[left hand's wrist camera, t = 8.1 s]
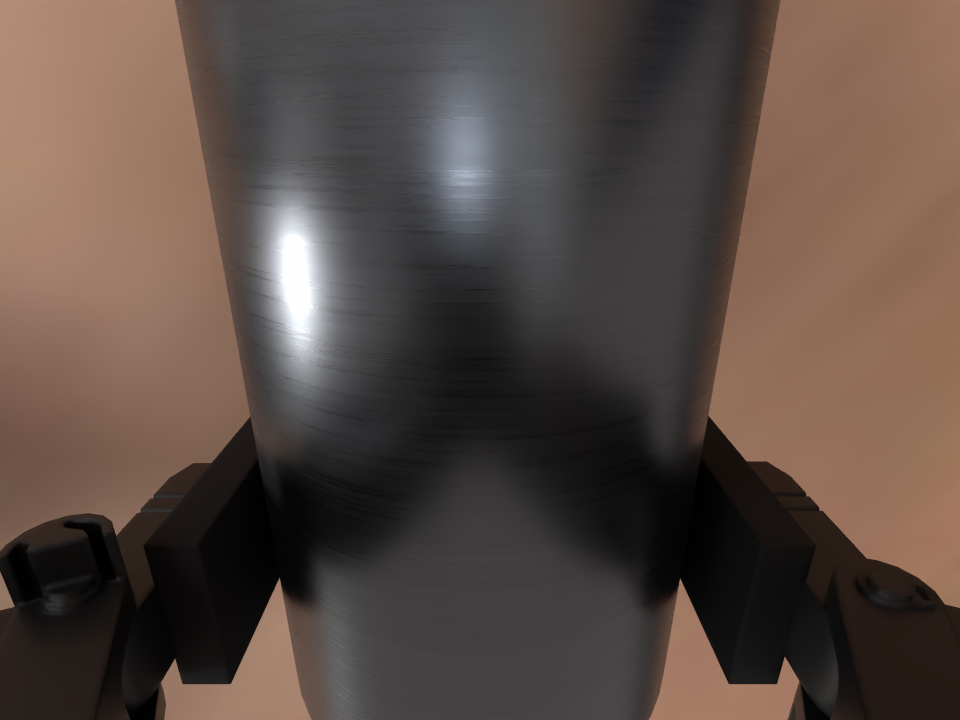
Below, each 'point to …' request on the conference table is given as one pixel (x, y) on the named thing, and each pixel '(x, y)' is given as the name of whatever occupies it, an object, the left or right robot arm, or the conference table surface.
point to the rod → (478, 327)
